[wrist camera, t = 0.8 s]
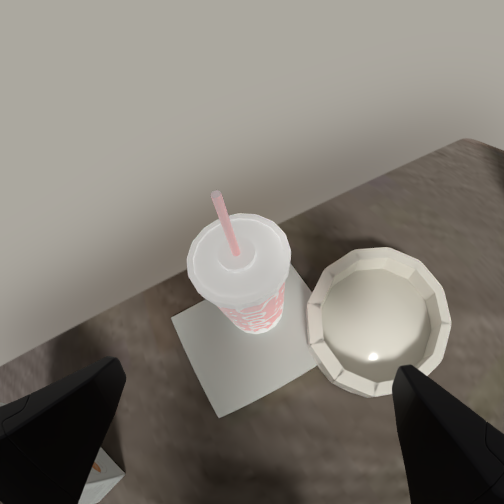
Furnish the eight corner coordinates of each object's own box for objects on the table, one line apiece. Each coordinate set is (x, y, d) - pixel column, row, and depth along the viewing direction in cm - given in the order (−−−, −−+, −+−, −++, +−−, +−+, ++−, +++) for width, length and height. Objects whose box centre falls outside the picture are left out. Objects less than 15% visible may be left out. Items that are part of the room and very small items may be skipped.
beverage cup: (220, 343, 22) (136, 261, 10) (222, 278, 25) (165, 160, 13) (294, 341, 21) (295, 249, 10) (290, 274, 25) (282, 143, 13)
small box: (54, 446, 17) (-42, 433, 6) (77, 414, 20) (-28, 390, 9) (100, 504, 14) (1, 521, 3) (128, 474, 16) (18, 491, 5)
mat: (219, 418, 19) (218, 418, 19) (172, 318, 24) (170, 317, 24) (347, 345, 21) (348, 344, 20) (285, 257, 26) (285, 255, 26)
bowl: (407, 414, 17) (422, 414, 14) (280, 360, 21) (279, 354, 18) (445, 292, 21) (459, 279, 19) (338, 246, 26) (342, 228, 23)
